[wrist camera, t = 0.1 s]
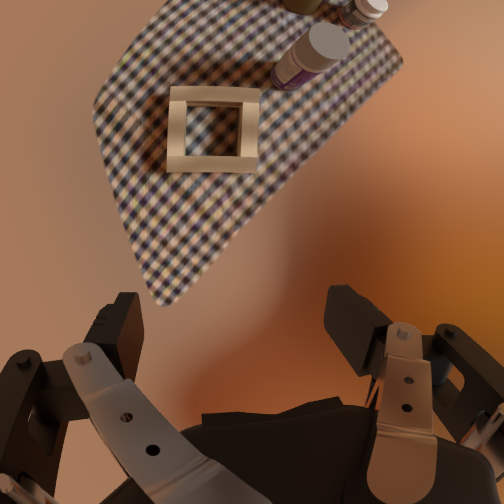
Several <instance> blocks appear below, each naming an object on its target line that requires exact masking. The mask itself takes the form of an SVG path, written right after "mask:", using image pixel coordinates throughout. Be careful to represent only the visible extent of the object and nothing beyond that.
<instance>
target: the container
mask: <svg viewBox="0 0 504 504" xmlns="http://www.w3.org/2000/svg"><path fill="white" fill-rule="evenodd" d="M349 50H350V42H349V39H348V37H347V35H346V34H345V33H344V32H343V31H342V30H341V29H340V28H339V27H337V26H336V25H333V24H331V23H326V22H320V23H317V24H315V25H313V26H312V27H311V28H310V29H309V30H308V31H307V32H306V33H304V34H303V35H302V36H301V37H300V38H299V39H298V40H297V41H296V42H295V43H294V44H293V45H292V47H291V48H290V49H289V50H288V51H287V52H286V53H285V54H284V56H283V57H282V58H281V59H280V60H279V61H278V62H277V64H276V65H275V66H274V67H273V69H272V70H271V80H272V82H273V84H274V85H275V86H276V87H277V88H279V89H281V90H283V91H293V90H295V89H297V88H299V87H300V86H302V85H303V84H305V83H306V82H308V81H309V80H311V79H312V78H314V77H316V76H317V75H319V74H320V73H322V72H323V71H325V70H326V69H328V68H329V67H331V66H332V65H334V64H335V63H337V62H338V61H340V60H341V59H343V58H344V57H345V56H347V54H348V53H349Z"/></svg>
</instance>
